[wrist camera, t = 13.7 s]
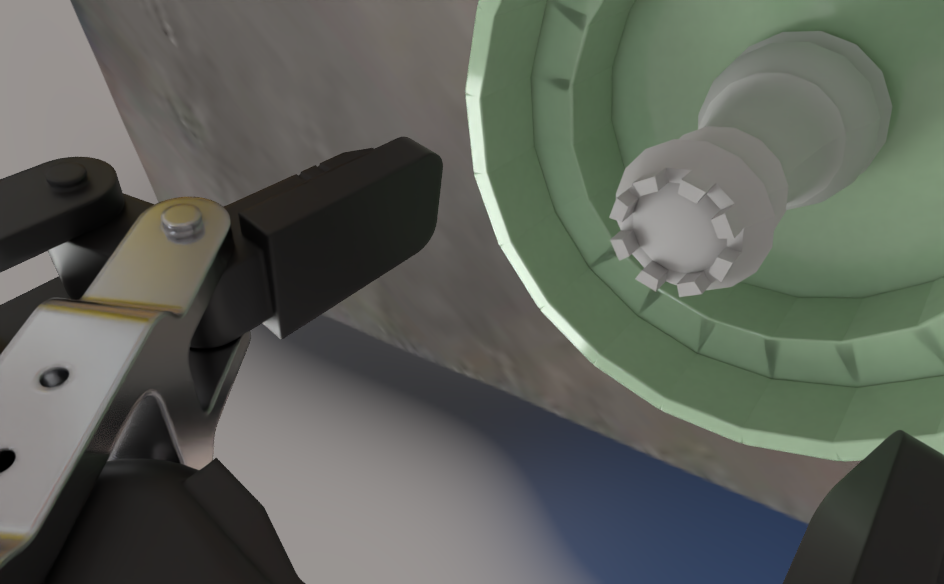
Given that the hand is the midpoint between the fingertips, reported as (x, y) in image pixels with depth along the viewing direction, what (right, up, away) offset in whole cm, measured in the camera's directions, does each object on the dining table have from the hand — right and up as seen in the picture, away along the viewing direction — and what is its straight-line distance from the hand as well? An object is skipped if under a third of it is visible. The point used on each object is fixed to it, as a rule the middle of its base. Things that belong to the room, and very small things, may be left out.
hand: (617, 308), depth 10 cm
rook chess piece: (+7, +5, +7) cm, 11 cm away
